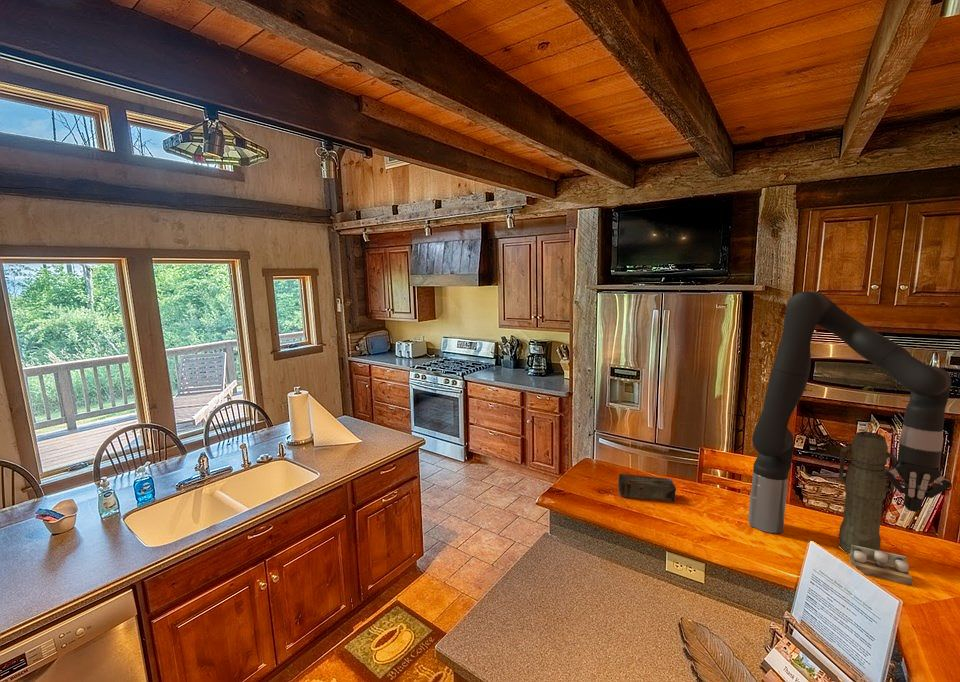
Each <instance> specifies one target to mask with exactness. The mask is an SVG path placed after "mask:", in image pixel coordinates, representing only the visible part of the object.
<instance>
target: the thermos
mask: <svg viewBox="0 0 960 682" xmlns="http://www.w3.org/2000/svg"><path fill="white" fill-rule="evenodd" d="M852 439H853V440H852V442H851V444H850V445H846V446H844V447H843V448H842V449H840V461H839V473H838V478H839V479H840V480H841V481H842V482H844V486H843V488H844V490H845V499H844V508H843V519H842V521H841V524H840V526H839V533H838V539H839V540H838V541H839V543H838V547H839V546H840V547H841V548H842V549H843V550H844V551H845V552H847V553H849V554H851V545H856V546H860V547H865V548H869V549H874V550H879V551H881V545H882V544H881V542H882V538H881V536H880V529H881V518H882V513H883V512H882V511H883V504H884V503H883V502H884V500H885V499H886V495H887V493H888V492H894V490H895V486H894V485H893V484H892V483H891V481H890V480H889V485H888V478H887V476H886V475H885V474H884V473H883V469H886V465H887V461H888V459H889V458H891V460H892V463H891V468H894V465H895V464H896V462H897V460H898V458H896V456H895V454H894V453H889V451H888V450H889V446H888V443H887V439H886V437H885V436H883V435H882V434H880V433H876V432H871V431H859V432H856V434H855V435H854V436H853V438H852ZM847 451H850V455H849V458H850V461H849V465H848V467H847V469H846V470H845V462H846V461H845V460H846V453H847ZM844 471H845V476H844ZM844 551H843V552H844ZM845 552H844V553H845ZM847 553H846V554H847ZM849 554H848V555H849Z"/></svg>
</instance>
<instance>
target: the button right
mask: <svg viewBox="0 0 960 682" xmlns="http://www.w3.org/2000/svg"><path fill="white" fill-rule="evenodd" d="M894 567H895V568H896V569H897V572H902V573H905V572H908V573H909V569H910V568H909V567H910V564H909V563H908V562H907V561H906V562H905V561H902V560H895V566H894Z"/></svg>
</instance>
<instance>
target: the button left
mask: <svg viewBox="0 0 960 682" xmlns="http://www.w3.org/2000/svg"><path fill="white" fill-rule="evenodd" d="M853 558H854V559H855V560H856V562H858V563H863V562H866V559H867V554H865V553H864V552H861V551H854V557H853Z"/></svg>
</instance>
